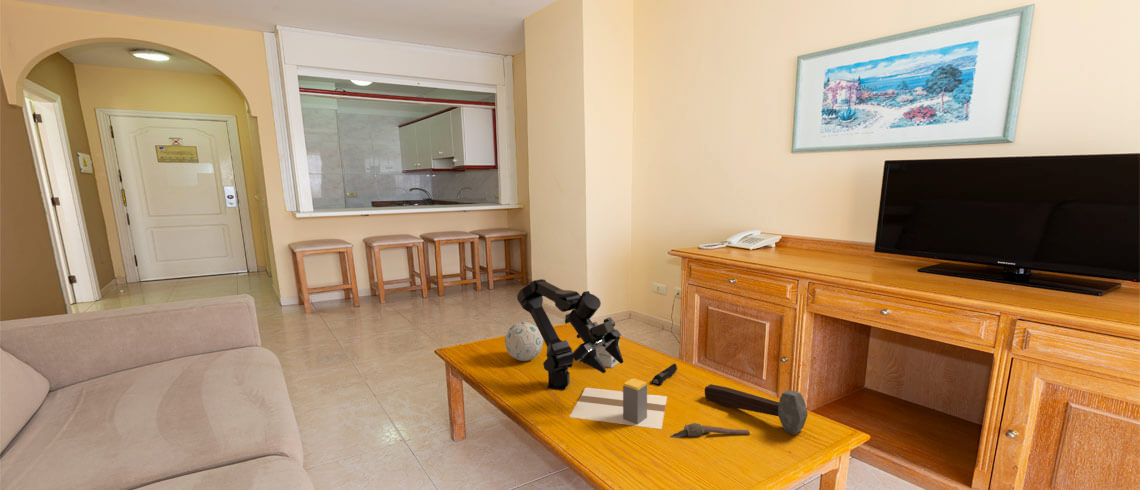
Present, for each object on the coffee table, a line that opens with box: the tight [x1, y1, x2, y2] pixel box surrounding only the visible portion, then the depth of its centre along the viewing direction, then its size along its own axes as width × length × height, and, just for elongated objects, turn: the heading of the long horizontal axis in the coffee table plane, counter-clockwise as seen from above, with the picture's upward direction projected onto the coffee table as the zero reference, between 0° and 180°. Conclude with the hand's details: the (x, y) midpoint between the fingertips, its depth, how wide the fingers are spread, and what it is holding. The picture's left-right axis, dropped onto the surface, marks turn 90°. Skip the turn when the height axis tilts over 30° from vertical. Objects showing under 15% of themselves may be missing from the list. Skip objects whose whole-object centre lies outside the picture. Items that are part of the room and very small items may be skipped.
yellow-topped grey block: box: [622, 378, 648, 425], centre depth 135 cm, size 5×5×11 cm
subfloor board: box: [568, 387, 668, 430], centre depth 143 cm, size 27×20×1 cm
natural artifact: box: [669, 422, 751, 439], centre depth 127 cm, size 4×23×4 cm
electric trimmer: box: [651, 363, 678, 387], centre depth 165 cm, size 4×16×3 cm, turn 142°
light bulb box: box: [594, 336, 620, 369], centre depth 178 cm, size 11×7×11 cm, turn 58°
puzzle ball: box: [504, 321, 544, 362], centre depth 183 cm, size 15×15×15 cm
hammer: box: [704, 383, 808, 436], centre depth 137 cm, size 5×11×30 cm
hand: (614, 367), depth 139 cm, fingers open, 9 cm apart
